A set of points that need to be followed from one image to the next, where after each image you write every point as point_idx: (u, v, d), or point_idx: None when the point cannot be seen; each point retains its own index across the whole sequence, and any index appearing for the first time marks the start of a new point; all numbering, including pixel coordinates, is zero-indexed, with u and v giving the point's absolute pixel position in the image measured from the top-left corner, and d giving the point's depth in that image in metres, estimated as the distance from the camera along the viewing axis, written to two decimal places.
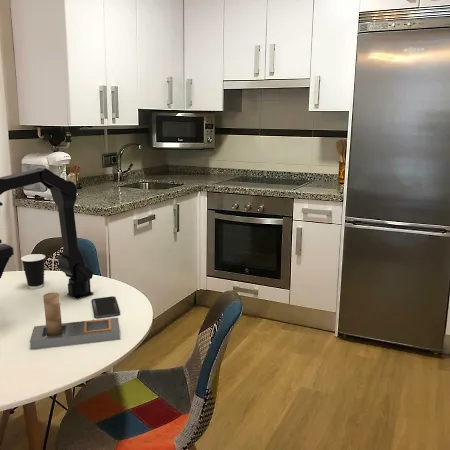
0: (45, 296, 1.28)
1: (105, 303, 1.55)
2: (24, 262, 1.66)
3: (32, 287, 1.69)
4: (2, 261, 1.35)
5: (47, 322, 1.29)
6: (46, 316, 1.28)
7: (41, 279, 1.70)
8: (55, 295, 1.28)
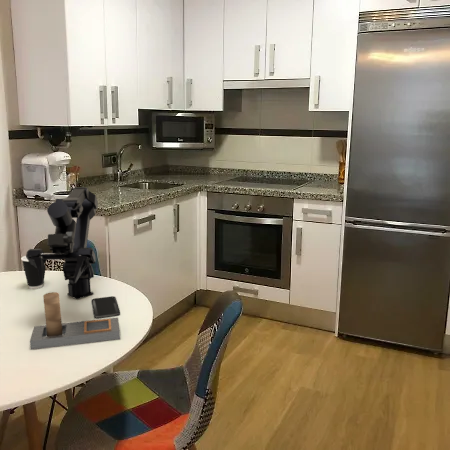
0: (45, 296, 1.28)
1: (105, 303, 1.55)
2: (24, 262, 1.66)
3: (32, 287, 1.69)
4: (81, 267, 1.40)
5: (47, 322, 1.29)
6: (46, 316, 1.28)
7: None
8: (55, 295, 1.28)
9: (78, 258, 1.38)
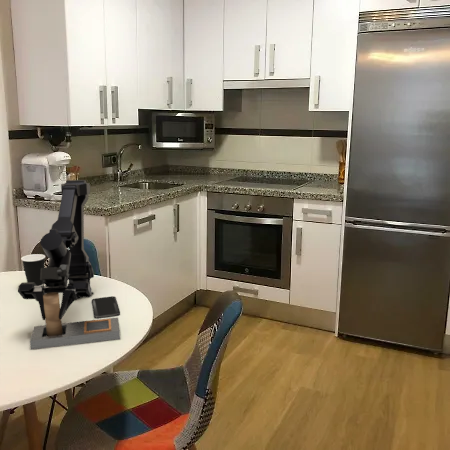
0: (45, 296, 1.28)
1: (105, 303, 1.55)
2: (24, 262, 1.66)
3: None
4: (68, 302, 1.33)
5: (47, 322, 1.29)
6: (46, 316, 1.28)
7: None
8: (55, 295, 1.28)
9: (64, 293, 1.30)
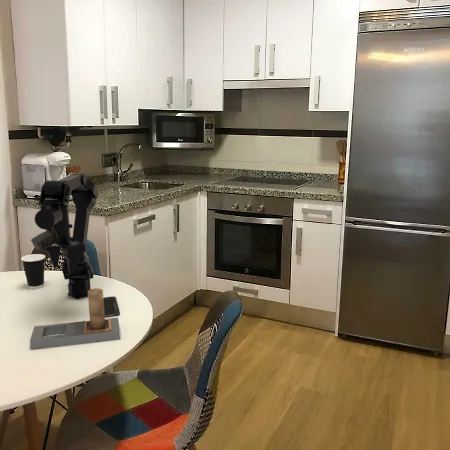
0: (91, 292, 1.30)
1: (105, 303, 1.55)
2: (24, 262, 1.66)
3: (32, 287, 1.69)
4: (75, 257, 1.44)
5: (93, 318, 1.31)
6: (92, 312, 1.31)
7: (41, 279, 1.70)
8: (100, 290, 1.32)
9: None
